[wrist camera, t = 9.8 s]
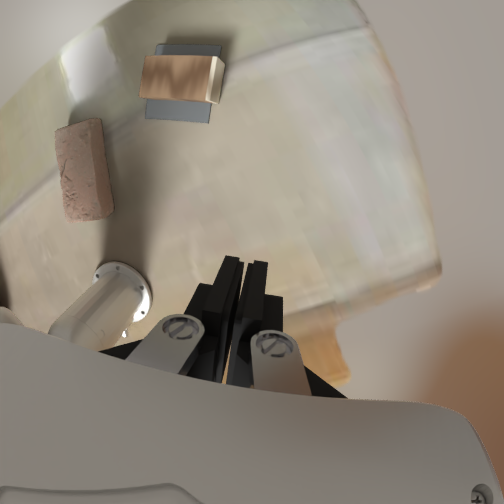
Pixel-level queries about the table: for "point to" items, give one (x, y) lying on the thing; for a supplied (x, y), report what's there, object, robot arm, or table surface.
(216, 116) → the table surface
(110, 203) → the brick
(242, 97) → the table surface
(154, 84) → the block
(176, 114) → the mat
